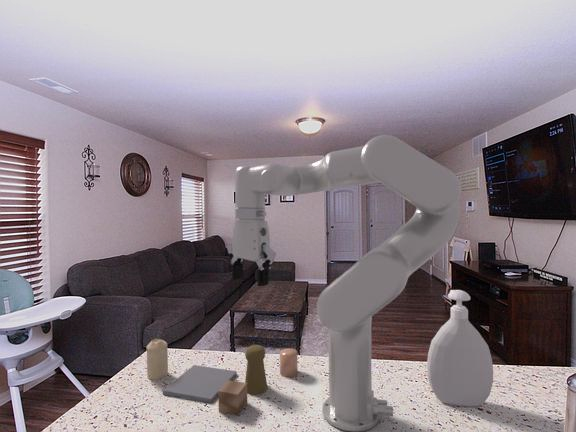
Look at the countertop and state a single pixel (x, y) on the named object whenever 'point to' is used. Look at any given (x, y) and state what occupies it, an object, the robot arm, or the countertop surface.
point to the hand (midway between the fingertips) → (249, 282)
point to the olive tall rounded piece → (255, 370)
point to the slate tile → (200, 383)
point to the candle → (157, 359)
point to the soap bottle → (460, 359)
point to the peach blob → (288, 362)
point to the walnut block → (232, 397)
